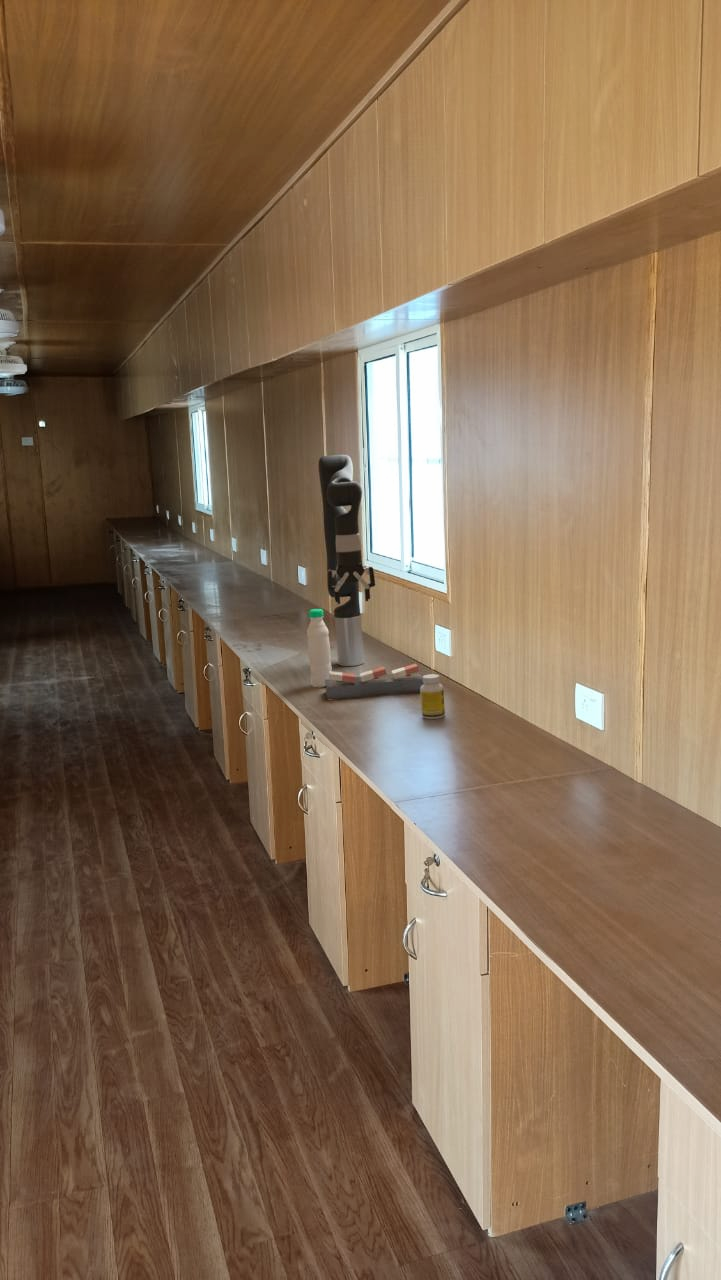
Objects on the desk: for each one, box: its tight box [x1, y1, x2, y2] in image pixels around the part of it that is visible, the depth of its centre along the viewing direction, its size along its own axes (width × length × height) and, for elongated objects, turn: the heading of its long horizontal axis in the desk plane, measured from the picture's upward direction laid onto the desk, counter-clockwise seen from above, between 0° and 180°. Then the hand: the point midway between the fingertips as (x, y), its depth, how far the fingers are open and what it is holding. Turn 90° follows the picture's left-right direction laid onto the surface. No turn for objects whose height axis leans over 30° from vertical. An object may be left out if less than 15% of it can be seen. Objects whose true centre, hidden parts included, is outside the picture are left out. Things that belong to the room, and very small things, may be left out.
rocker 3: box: [391, 663, 420, 679], centre depth 305 cm, size 4×8×2 cm, turn 94°
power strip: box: [325, 670, 424, 701], centre depth 307 cm, size 10×30×4 cm, turn 94°
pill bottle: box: [419, 673, 446, 720], centre depth 274 cm, size 6×6×12 cm
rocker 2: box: [359, 665, 388, 682], centre depth 304 cm, size 4×8×2 cm, turn 94°
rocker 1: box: [329, 670, 356, 683], centre depth 304 cm, size 4×8×2 cm, turn 94°
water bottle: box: [306, 608, 333, 688], centre depth 318 cm, size 7×7×25 cm
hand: (352, 602), depth 299 cm, fingers open, 8 cm apart
